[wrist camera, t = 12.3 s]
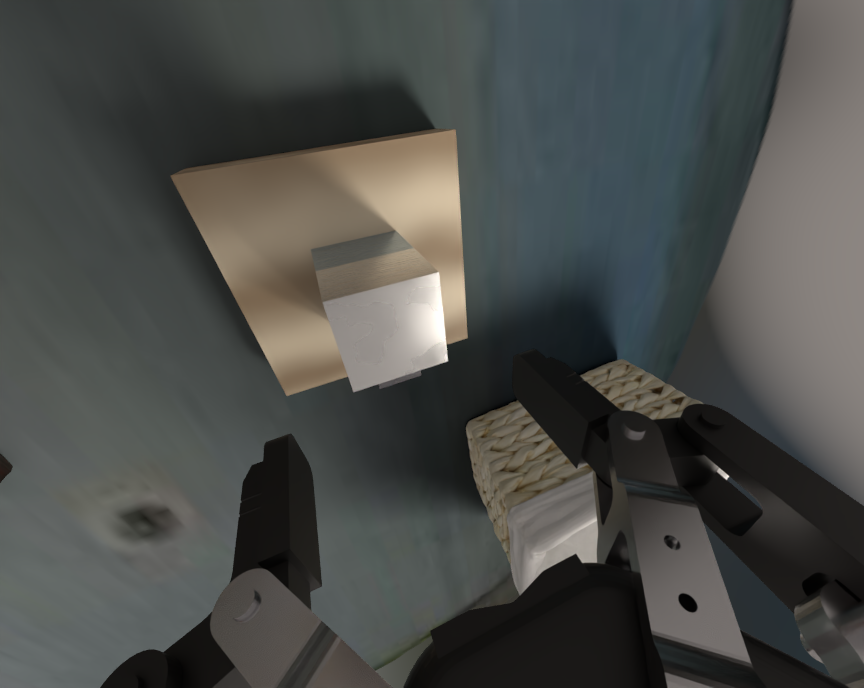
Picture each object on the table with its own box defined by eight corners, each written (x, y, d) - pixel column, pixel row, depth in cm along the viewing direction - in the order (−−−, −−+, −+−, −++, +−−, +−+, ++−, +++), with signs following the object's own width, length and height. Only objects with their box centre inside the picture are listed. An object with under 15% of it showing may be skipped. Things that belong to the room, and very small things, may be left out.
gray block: (395, 230, 20) (439, 271, 14) (410, 318, 23) (449, 378, 18) (310, 249, 18) (322, 302, 13) (340, 338, 22) (359, 409, 17)
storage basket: (464, 492, 45) (526, 618, 34) (449, 415, 35) (529, 556, 24) (607, 425, 50) (704, 516, 38) (628, 341, 40) (767, 429, 28)
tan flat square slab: (452, 320, 28) (467, 338, 26) (286, 370, 25) (286, 396, 23) (435, 128, 20) (455, 129, 18) (185, 168, 17) (170, 175, 15)
